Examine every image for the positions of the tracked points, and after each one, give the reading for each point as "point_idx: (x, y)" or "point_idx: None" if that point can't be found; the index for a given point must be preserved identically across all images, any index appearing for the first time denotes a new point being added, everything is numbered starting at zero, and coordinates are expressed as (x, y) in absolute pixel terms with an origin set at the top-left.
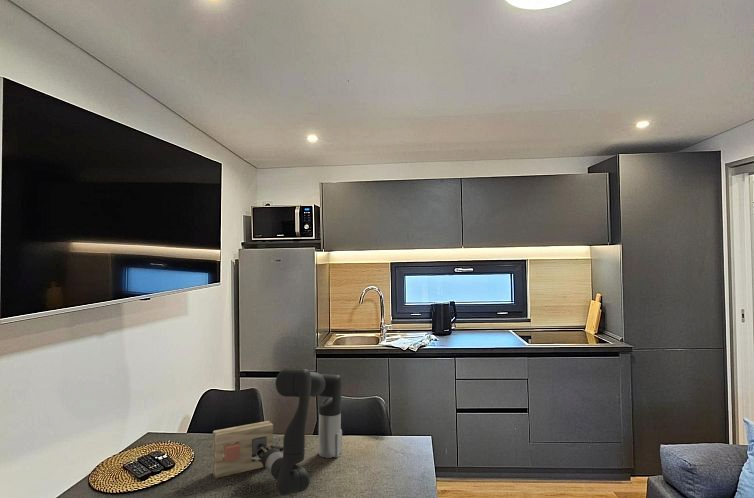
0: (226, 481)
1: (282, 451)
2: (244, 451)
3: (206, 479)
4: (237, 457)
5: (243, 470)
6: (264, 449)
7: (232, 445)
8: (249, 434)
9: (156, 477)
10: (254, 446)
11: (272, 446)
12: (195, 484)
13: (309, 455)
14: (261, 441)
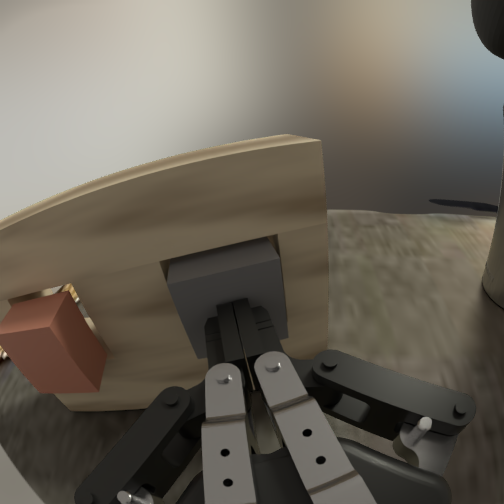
0: (92, 453)
1: (453, 440)
2: (137, 335)
3: (53, 400)
4: (82, 384)
5: None
6: (227, 467)
7: (29, 313)
8: (125, 229)
9: None
10: (183, 319)
11: (341, 369)
12: (22, 413)
13: (460, 299)
14: (234, 283)
